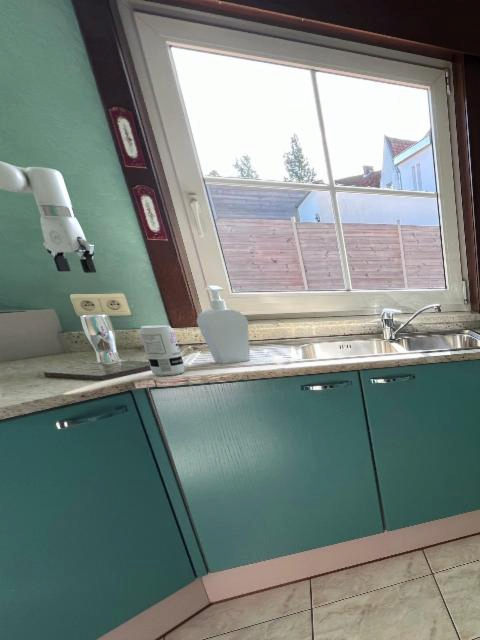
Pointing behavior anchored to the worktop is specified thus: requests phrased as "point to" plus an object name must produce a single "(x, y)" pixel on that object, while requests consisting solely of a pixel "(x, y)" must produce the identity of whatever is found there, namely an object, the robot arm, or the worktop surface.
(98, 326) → the beer glass
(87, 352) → the worktop surface
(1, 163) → the robot arm
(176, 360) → the supplement can
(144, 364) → the grid board
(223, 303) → the soap bottle
